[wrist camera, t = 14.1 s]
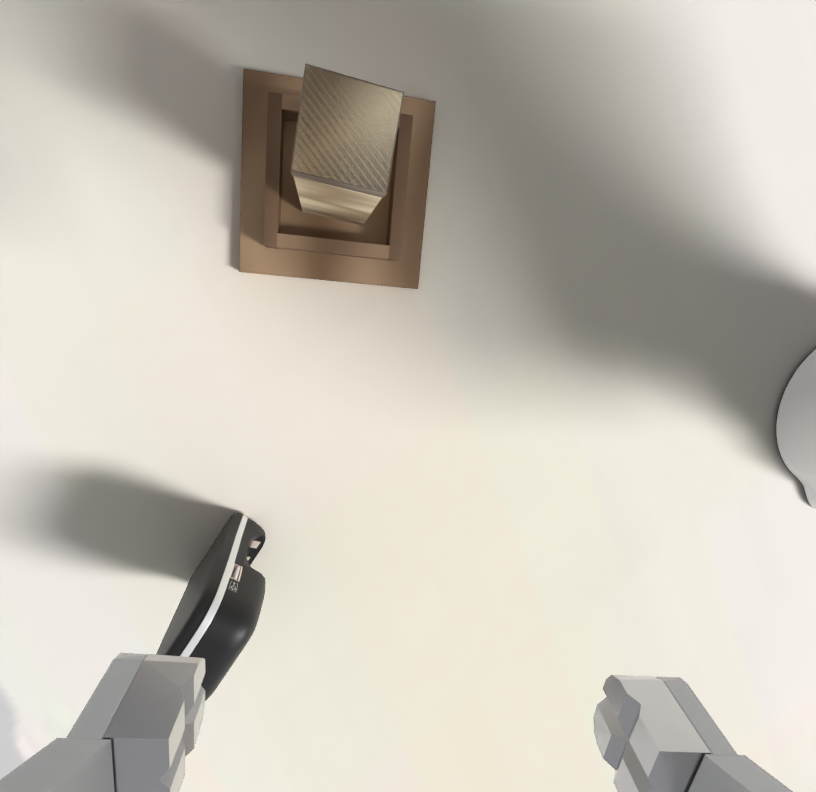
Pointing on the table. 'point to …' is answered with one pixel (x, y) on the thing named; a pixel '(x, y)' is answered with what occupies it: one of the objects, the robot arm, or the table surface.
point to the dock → (316, 235)
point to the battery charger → (220, 603)
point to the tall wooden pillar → (344, 144)
